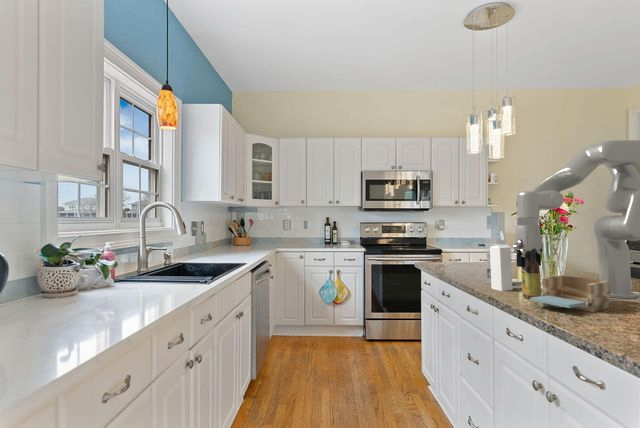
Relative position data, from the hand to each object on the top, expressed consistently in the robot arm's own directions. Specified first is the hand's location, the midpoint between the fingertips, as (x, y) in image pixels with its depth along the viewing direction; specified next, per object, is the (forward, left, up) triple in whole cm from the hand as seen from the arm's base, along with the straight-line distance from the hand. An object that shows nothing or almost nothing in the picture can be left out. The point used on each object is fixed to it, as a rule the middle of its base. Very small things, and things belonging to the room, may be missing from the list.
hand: (528, 266), depth 133 cm
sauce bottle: (-1, 0, -13) cm, 13 cm away
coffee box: (-18, -26, -13) cm, 34 cm away
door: (+8, +14, -11) cm, 20 cm away
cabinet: (-4, +14, -13) cm, 19 cm away
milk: (-7, -17, -13) cm, 22 cm away
